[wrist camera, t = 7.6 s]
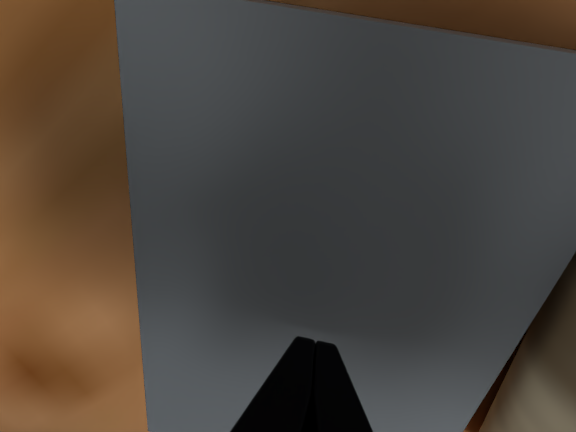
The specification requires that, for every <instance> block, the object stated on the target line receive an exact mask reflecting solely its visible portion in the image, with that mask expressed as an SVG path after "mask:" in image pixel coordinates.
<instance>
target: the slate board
mask: <svg viewBox="0 0 576 432" xmlns="http://www.w3.org/2000/svg"><path fill="white" fill-rule="evenodd" d="M114 3H115V16H116V29H117V42H118V54H119V67H120V80H121V93H122V105H123V118H124V131H125V144H126V156H127V169H128V182H129V195H130V207H131V220H132V233H133V246H134V258H135V271H136V284H137V297H138V309H139V322H140V335H141V348H142V360H143V373H144V386H145V399H146V411H147V424H148V431H150V432H230V431H231V429H232V428H233V426H234V425H235V423H236V422H237V421H238V419H239V418H240V416H241V415H242V413H243V412H244V410H245V409H246V408H247V406H248V405H249V403H250V402H251V400H252V399H253V397H254V396H255V395H256V393H257V392H258V390H259V389H260V387H261V386H262V384H263V383H264V382H265V380H266V379H267V377H268V376H269V374H270V373H271V371H272V370H273V369H274V367H275V366H276V364H277V363H278V361H279V360H280V358H281V357H282V355H283V354H284V353H285V351H286V350H287V348H288V347H289V345H290V344H291V342H292V341H293V340H294V338H295V337H297V336H301V337H306V338H310V339H314V341H315V343H316V342H317V341H324V342H328V343H333V344H335V345H336V346H337V348H338V350H339V353H340V355H341V357H342V360H343V362H344V364H345V367H346V369H347V371H348V374H349V376H350V378H351V381H352V383H353V385H354V388H355V390H356V392H357V395H358V397H359V400H360V402H361V404H362V407H363V409H364V411H365V414H366V416H367V418H368V421H369V423H370V425H371V428H372V430H373V432H463V431H464V429H465V427H466V426H467V424H468V423H469V421H470V419H471V418H472V416H473V415H474V413H475V412H476V410H477V408H478V407H479V405H480V404H481V402H482V400H483V399H484V397H485V396H486V394H487V392H488V391H489V389H490V388H491V386H492V384H493V383H494V381H495V380H496V378H497V376H498V375H499V373H500V372H501V370H502V369H503V367H504V365H505V364H506V362H507V361H508V359H509V357H510V356H511V354H512V353H513V351H514V349H515V348H516V346H517V345H518V343H519V341H520V340H521V338H522V337H523V335H524V333H525V332H526V330H527V329H528V327H529V326H530V324H531V322H532V321H533V319H534V318H535V316H536V314H537V313H538V311H539V310H540V308H541V306H542V305H543V303H544V302H545V300H546V298H547V297H548V295H549V294H550V292H551V290H552V289H553V287H554V286H555V284H556V283H557V281H558V279H559V278H560V276H561V275H562V273H563V271H564V270H565V268H566V267H567V265H568V263H569V262H570V260H571V259H572V257H573V255H574V254H575V252H576V50H571V49H565V48H559V47H553V46H546V45H540V44H534V43H528V42H522V41H515V40H509V39H503V38H497V37H490V36H484V35H478V34H472V33H465V32H459V31H453V30H447V29H441V28H434V27H428V26H422V25H416V24H409V23H403V22H397V21H391V20H384V19H378V18H372V17H366V16H360V15H353V14H347V13H341V12H335V11H328V10H322V9H316V8H310V7H303V6H297V5H291V4H285V3H279V2H272V1H266V0H114Z"/></svg>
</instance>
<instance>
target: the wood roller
mask: <svg viewBox="0 0 576 432" xmlns="http://www.w3.org/2000/svg"><path fill="white" fill-rule="evenodd" d="M479 432H576V252H575V254H574V255H573V257H572V259H571V260H570V262H569V263H568V265H567V267H566V268H565V270H564V271H563V273H562V275H561V276H560V278H559V279H558V281H557V283H556V284H555V286H554V287H553V289H552V290H551V292H550V294H549V295H548V297H547V298H546V300H545V302H544V303H543V305H542V306H541V308H540V310H539V311H538V313H537V314H536V316H535V318H534V319H533V321H532V322H531V324H530V327H529V329H528V331H527V333H526V335H525V337H524V339H523V341H522V343H521V345H520V347H519V349H518V351H517V353H516V356H515V358H514V360H513V362H512V364H511V366H510V368H509V370H508V372H507V374H506V376H505V378H504V380H503V383H502V385H501V387H500V389H499V391H498V393H497V395H496V397H495V399H494V401H493V403H492V405H491V407H490V409H489V412H488V414H487V416H486V418H485V420H484V422H483V424H482V426H481V428H480V430H479Z"/></svg>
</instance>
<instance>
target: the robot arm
mask: <svg viewBox="0 0 576 432" xmlns="http://www.w3.org/2000/svg"><path fill="white" fill-rule="evenodd" d="M230 432H373V430H372V428H371V425H370V423H369V421H368V418H367V416H366V414H365V411H364V409H363V407H362V404H361V402H360V400H359V397H358V395H357V392H356V390H355V388H354V385H353V383H352V381H351V378H350V376H349V374H348V371H347V369H346V367H345V364H344V362H343V360H342V357H341V355H340V353H339V350H338V348H337V346H336V345H335V344H333V343H328V342H324V341H317V342H316V343H315V341H314V339H310V338H306V337H301V336H297V337H295V338H294V340H293V341H292V342H291V344H290V345H289V347H288V348H287V350H286V351H285V353H284V354H283V355H282V357H281V358H280V360H279V361H278V363H277V364H276V366H275V367H274V369H273V370H272V371H271V373H270V374H269V376H268V377H267V379H266V380H265V382H264V383H263V384H262V386H261V387H260V389H259V390H258V392H257V393H256V395H255V396H254V397H253V399H252V400H251V402H250V403H249V405H248V406H247V408H246V409H245V410H244V412H243V413H242V415H241V416H240V418H239V419H238V421H237V422H236V423H235V425H234V426H233V428H232V429H231V431H230Z"/></svg>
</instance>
